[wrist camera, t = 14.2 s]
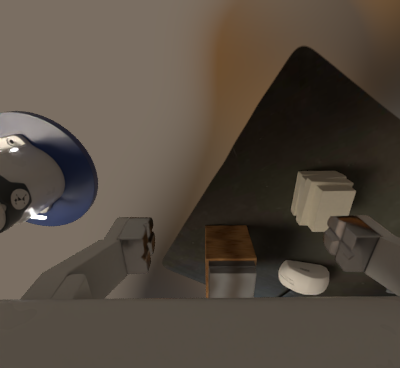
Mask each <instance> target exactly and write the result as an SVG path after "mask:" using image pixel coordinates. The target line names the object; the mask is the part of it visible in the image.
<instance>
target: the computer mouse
mask: <svg viewBox="0 0 400 368" xmlns="http://www.w3.org/2000/svg"><path fill="white" fill-rule="evenodd" d="M278 273H279V279H280V282H281V283H282V284H283V285H284V286H286V287H288V288H289V289H291V290H293V291H295V292H298V293H301V294H305V295H317V294H320V293H322V292H324V290H325V289H326V288H327V286H328V284H329V271H328V270H327V268H326V267H324V266H322V265H317V264H311V263H305V262H299V261H292V260H285V261H284V262H283V263H282V265H281V266H280V269H279V271H278Z"/></svg>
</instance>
